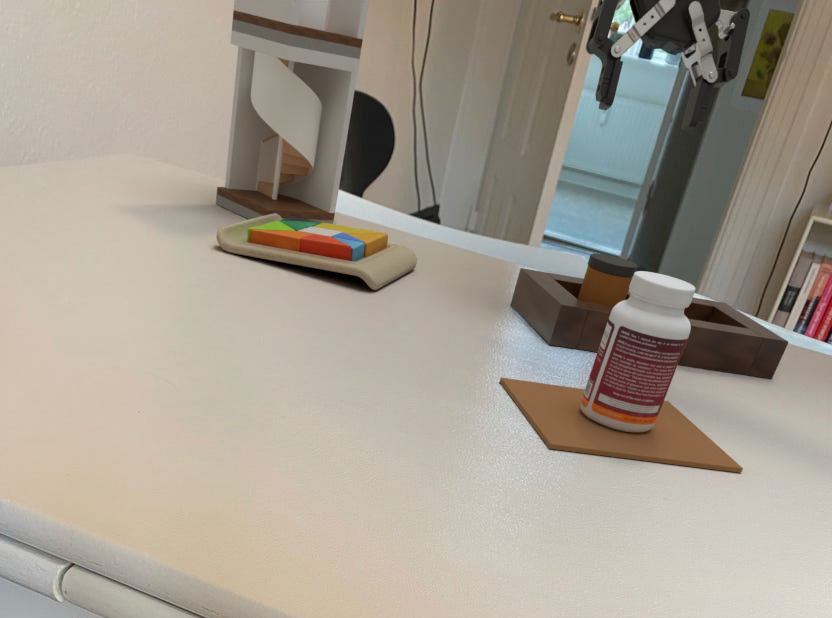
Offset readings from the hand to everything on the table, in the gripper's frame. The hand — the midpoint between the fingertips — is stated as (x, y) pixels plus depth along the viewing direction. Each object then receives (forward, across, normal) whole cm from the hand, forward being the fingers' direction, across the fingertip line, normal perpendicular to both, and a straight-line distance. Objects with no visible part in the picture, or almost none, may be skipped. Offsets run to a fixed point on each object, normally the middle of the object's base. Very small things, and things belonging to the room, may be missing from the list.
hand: (646, 118), depth 87 cm
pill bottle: (+29, +3, +20) cm, 35 cm away
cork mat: (+29, +3, +20) cm, 35 cm away
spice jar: (+19, -2, -7) cm, 20 cm away
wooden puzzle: (+17, +28, -17) cm, 37 cm away
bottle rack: (+19, -8, -7) cm, 22 cm away
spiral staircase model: (+10, +34, -35) cm, 50 cm away
